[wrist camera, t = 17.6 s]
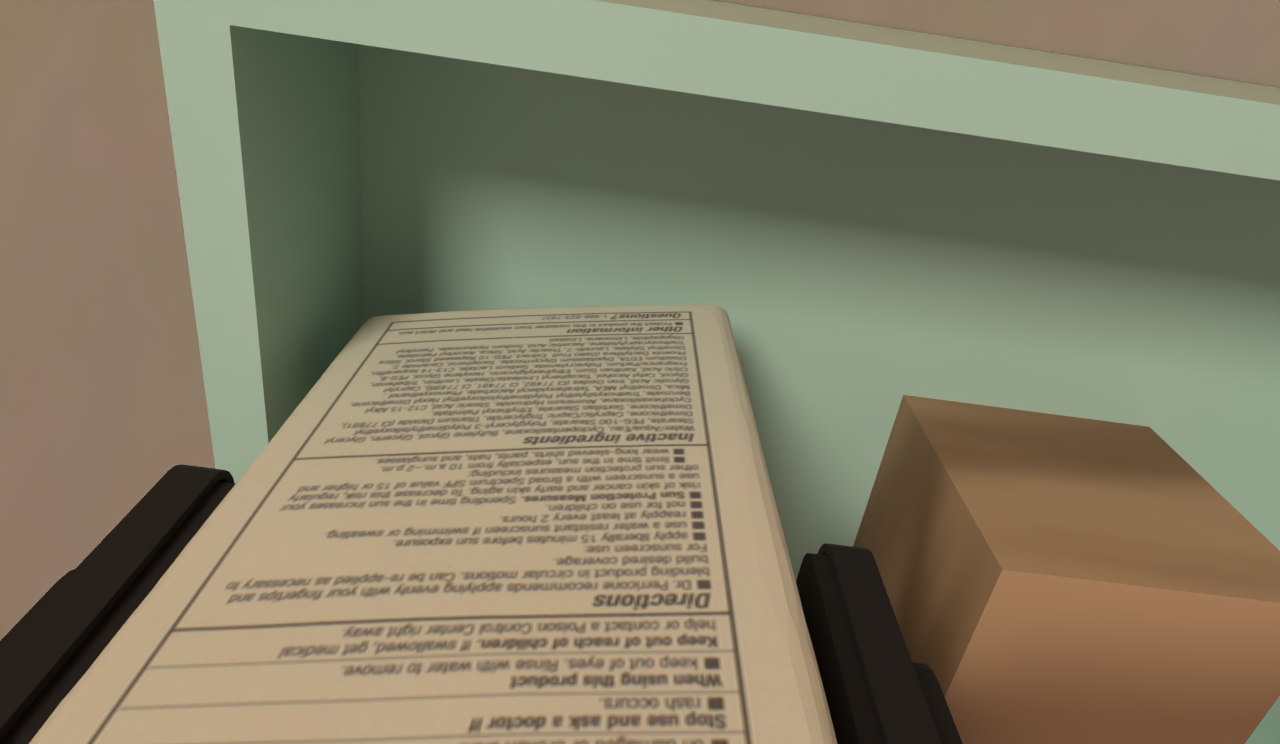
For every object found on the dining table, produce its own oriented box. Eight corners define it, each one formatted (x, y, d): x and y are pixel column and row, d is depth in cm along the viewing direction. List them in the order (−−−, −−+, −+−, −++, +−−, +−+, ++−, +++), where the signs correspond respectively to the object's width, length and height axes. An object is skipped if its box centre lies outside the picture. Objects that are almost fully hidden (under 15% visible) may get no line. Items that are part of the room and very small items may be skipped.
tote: (350, 611, 20) (259, 803, 15) (321, -60, 13) (144, -70, 8) (1192, 707, 21) (1340, 914, 16) (1576, 133, 14) (2011, 216, 9)
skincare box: (409, 514, 15) (-186, 1849, 4) (363, 299, 13) (-938, 1809, 2) (738, 507, 15) (942, 1899, 4) (744, 287, 13) (1161, 1898, 2)
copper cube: (903, 394, 16) (1001, 569, 11) (1149, 426, 16) (1342, 610, 11) (839, 587, 18) (899, 795, 13) (1054, 612, 18) (1184, 826, 14)
